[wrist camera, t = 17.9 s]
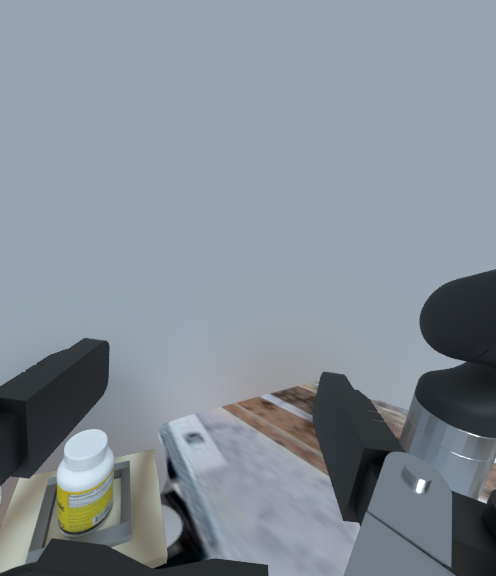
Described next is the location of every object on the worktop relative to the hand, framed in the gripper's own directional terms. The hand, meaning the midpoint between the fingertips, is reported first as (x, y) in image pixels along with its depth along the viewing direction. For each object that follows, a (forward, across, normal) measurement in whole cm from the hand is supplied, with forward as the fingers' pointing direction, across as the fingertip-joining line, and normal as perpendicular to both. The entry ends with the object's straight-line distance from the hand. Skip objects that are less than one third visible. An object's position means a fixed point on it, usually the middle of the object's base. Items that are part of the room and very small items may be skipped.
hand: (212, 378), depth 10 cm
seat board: (+15, +13, +30) cm, 36 cm away
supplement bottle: (+15, +13, +29) cm, 35 cm away
